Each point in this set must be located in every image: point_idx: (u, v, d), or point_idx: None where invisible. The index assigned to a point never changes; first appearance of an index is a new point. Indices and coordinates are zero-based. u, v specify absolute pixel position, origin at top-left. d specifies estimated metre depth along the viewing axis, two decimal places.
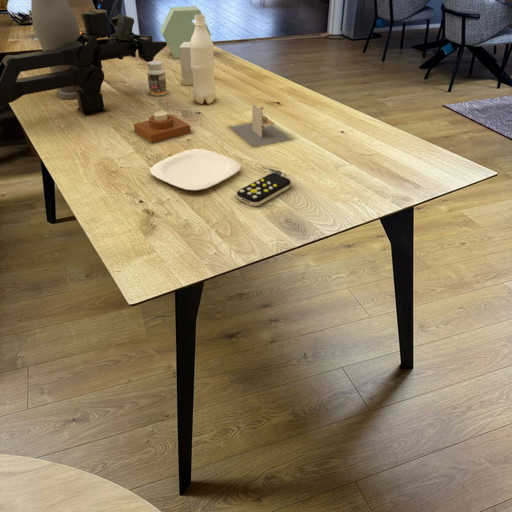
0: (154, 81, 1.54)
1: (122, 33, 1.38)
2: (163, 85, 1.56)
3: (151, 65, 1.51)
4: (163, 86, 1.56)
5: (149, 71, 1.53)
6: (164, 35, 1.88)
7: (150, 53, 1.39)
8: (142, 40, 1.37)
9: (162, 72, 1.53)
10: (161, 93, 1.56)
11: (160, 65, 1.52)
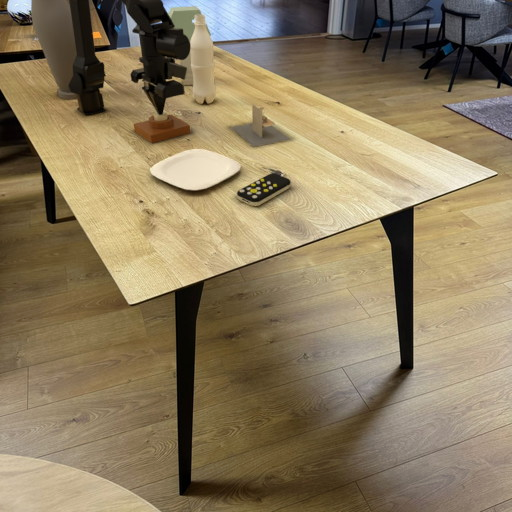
0: None
1: (172, 65, 1.23)
2: None
3: None
4: None
5: None
6: None
7: (172, 94, 1.18)
8: (181, 84, 1.20)
9: None
10: None
11: None
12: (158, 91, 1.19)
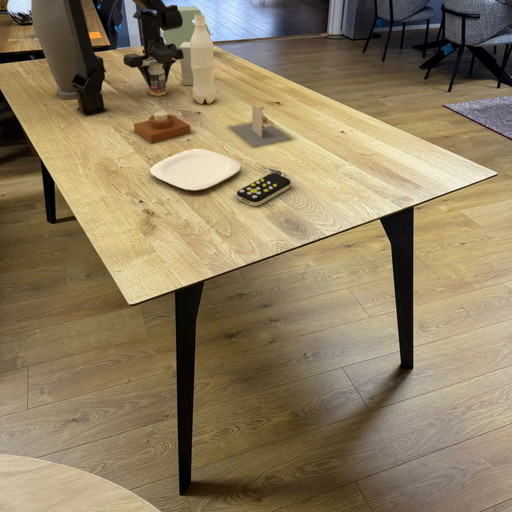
0: (154, 81, 1.54)
1: (152, 47, 1.46)
2: (163, 85, 1.56)
3: (151, 65, 1.51)
4: (163, 86, 1.56)
5: (149, 71, 1.53)
6: (164, 35, 1.88)
7: (126, 63, 1.48)
8: (134, 60, 1.46)
9: (162, 72, 1.53)
10: (161, 93, 1.56)
11: (160, 65, 1.52)
12: None
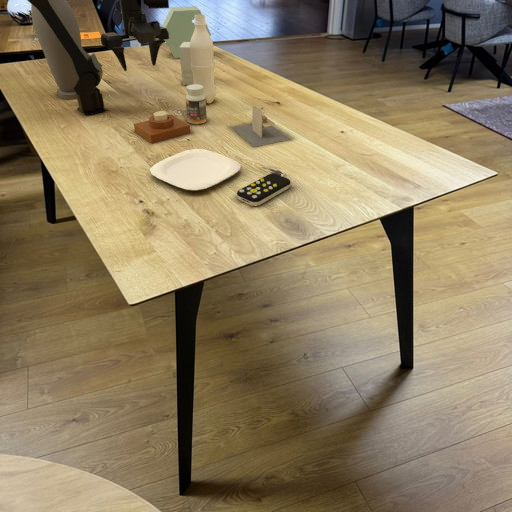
0: (194, 108, 1.34)
1: (133, 24, 1.29)
2: (204, 112, 1.36)
3: (191, 91, 1.32)
4: (203, 113, 1.36)
5: (189, 96, 1.33)
6: None
7: (103, 43, 1.31)
8: (112, 39, 1.29)
9: (203, 98, 1.34)
10: (201, 121, 1.37)
11: (201, 90, 1.32)
12: None
